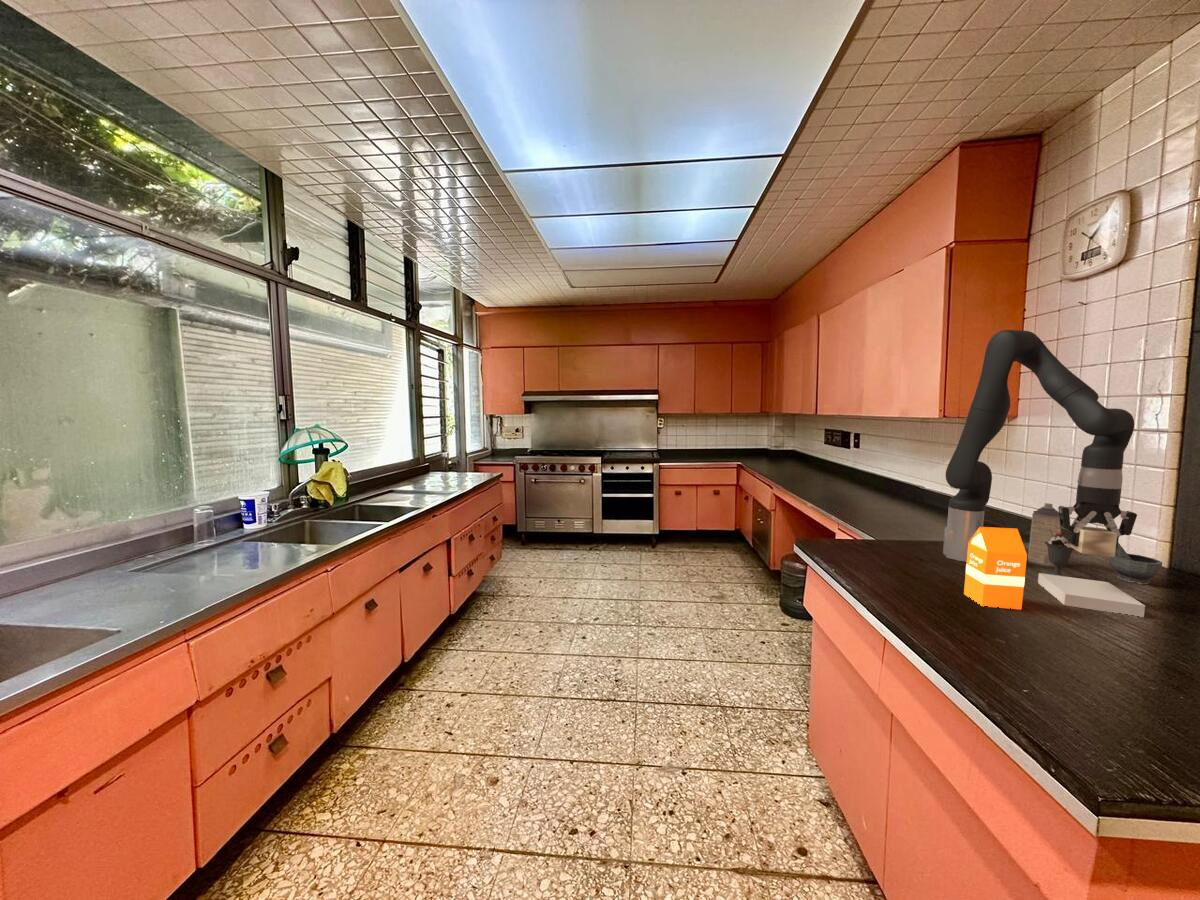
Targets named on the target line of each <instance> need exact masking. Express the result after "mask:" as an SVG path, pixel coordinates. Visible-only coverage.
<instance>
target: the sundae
mask: <svg viewBox="0 0 1200 900" xmlns="http://www.w3.org/2000/svg"><path fill="white" fill-rule="evenodd" d="M1060 529H1061V531H1060V532H1061V534H1060V532H1059V533H1056V535H1055V536H1053V537H1052V538H1051V540H1049V541H1046V542H1044V543H1045V544H1046V545H1047V547H1048V557H1049V560H1050V562H1051V563H1053V564H1054V565H1055V567H1054V569H1053V572H1046V573H1045V574H1050V575H1058V576H1065V575H1063V574H1062V573H1061V568H1062V567H1063V566H1066V565H1068V563H1069V561H1070V558H1071V555H1072V552H1073V550H1074V549H1073V548H1072V547H1070V545H1071V543H1070V542H1069V539H1067V537H1066V536H1065V535H1064V533H1063V530H1062V528H1061V527H1060ZM1065 577H1067V576H1065Z"/></svg>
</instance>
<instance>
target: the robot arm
mask: <svg viewBox="0 0 1200 900" xmlns="http://www.w3.org/2000/svg"><path fill="white" fill-rule="evenodd" d="M1014 362H1017V363H1019V364H1021V365H1022V366H1025V367H1026V368H1027V369H1029V370H1030V371H1031V372H1032V373H1033V374H1034V375H1035V376H1036V378H1037V379H1038V381H1039V384H1040V386H1041V387H1042V389H1043V390H1044V391H1045V392H1044V393H1046V394H1047V395H1048V396H1049V397H1050V398H1051V399H1052V400H1054V402H1056V403H1057V404H1058V405H1059V406H1060V407H1062V408H1063V409H1065V411H1066V413H1067V414H1068V416H1069V418H1071V421H1073V423H1074V424H1075V425H1076V426H1077V428H1079V429H1080V430H1081V431H1083V432H1084V433H1086V434H1088V435H1091V436H1094V437H1093V440H1092V443H1090V444H1089V445H1086V446H1084V448H1083V450H1082V455H1081V461H1080V462H1081V463H1080V464H1081V465H1080V466H1081V467H1080V469H1079V471H1078V472H1079V473H1078V478H1077V480H1076V481H1077V488H1076V495H1075V496H1076V498H1075V504H1073V506H1064V505H1060V506H1058V507H1057V508H1058V512H1059V520H1060V526H1061V527H1062V528H1063V529H1065V530H1067V531H1069V533H1068V541H1069V543H1070V544H1072V545H1073V546H1077V547H1078V545H1079V536H1080V533H1078V532H1080V529H1082V528H1083V527H1087V525H1088V524H1100V525H1103V526H1104V527H1105V529H1107V530H1109V531H1111V532H1114V533H1116V534H1117V541H1116V548H1117V547H1118V543H1119V540H1120V539H1119V538H1120V537H1122V536H1130V535H1131V534H1132V531H1133V529H1134V526H1135V524H1136V520H1137V517H1138V514H1137V513H1136V512H1133V511H1129V510H1121V508H1120V504H1121V497H1122V495H1121V494H1122V489H1123V487H1122V486H1123V477H1124V476H1123V465H1124V459H1125V458H1124V455H1125V451H1126V449H1127V448H1128V445H1129V443H1130V440H1131V438H1132V435H1133V432H1134V430H1135V418H1134V417H1133V415H1132V413H1131V412H1129V411H1127V410H1126V409H1123V408H1107V407H1105V406H1104V405H1102V404H1101V403H1100V401H1098V400H1099V394H1098V393H1097V392H1096V390H1095V389H1093V388H1092V387H1091V386H1089V385H1088V384H1087V383H1085V382H1084V381H1083V380H1082V379H1081V378H1079V377H1078V376H1077V375H1075V374H1074V373H1073V372H1072V371H1071V370H1069V369H1068V368H1067V367H1066V366H1065V365H1064V364H1063V363H1062V362H1061V361H1060V360H1059V359H1058V358H1057V357H1056V356H1055V355H1054V354H1053V353H1052V352H1051V351H1050V350H1049V348H1048V347H1047V346H1046V344H1045V343H1044V342H1043V340H1042V339H1041V338H1040V337H1039V336H1038V335H1037V334H1036V333H1034V332H1032V331H1028V330H1018V329H1004V330H1000V331H998V332H996V333H995V334H993V335H992V336H991V338H990V340H988V342H987V344H986V348H985V353H984V357H983V363H982V367H981V373H980V375H979V376H980V377H979V379H978V383H977V387H976V389H975V394H974V397H973V400H972V401H971V404H970V407H969V410H968V413H967V417H966V420H965V423H964V426H963V430H962V431H961V435H960V437H959V441H958V443H957V445H956V448H955V450H954V452H953V454H952V456H951V458H950V460H949V463H948V464H947V466H946V469H945V480H946V482H947V484H948V485H949V486H950V487H951V488H953V489H956V490H958V492H957V493H956V494H955V495H954V496H952V497H950V498H949V500H948V513H947V521H946V522H947V523H946V524H947V525H946V526H945V527H944V536H943V548H942V554H943V555H944V556H945V558H946V559H950V560H955V561H959V562H964V563H967V553H968V543H969V541H970V540H971V539H972V537H973V536H974V534H975V533H976V531H977V530H978V529H979V527H984V521H985V520H984V519H985V518H984V517H985V510H986V509H985V508H986V505H987V504H988V503H989V500H990V495H991V488H992V481H993V474H992V471H991V470H992V469H991V468H990V466H989V465H988V464H986V463H985V462H983V461H979V460H980V457H981V454H982V453H983V450H984V449H985V448H986V447H987V446H988V444H989V443H990V442H991V441H992V440H993V439H994V438H995V437H996V436H997V435H998V434H999V433H1000V432H1001V430H1002V429H1003V427H1004V425H1005V422H1006V420H1007V417H1008V414H1009V412H1010V409H1011V396H1010V391H1009V385H1008V381H1009V380H1008V379H1009V374H1010V373H1011V369H1012V366H1013V364H1014ZM1073 512H1075V514H1076V515H1077V516H1076V517H1075V518H1074V519H1073V522H1072V524H1071V519H1070V518H1071V517H1070V516H1071V515H1072V514H1073ZM1119 516H1120V518H1121V522H1120V525H1119V528H1118V525H1117V523H1116V522H1115V519H1116V518H1117V517H1119Z"/></svg>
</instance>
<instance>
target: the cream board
mask: <svg viewBox="0 0 1200 900" xmlns="http://www.w3.org/2000/svg"><path fill="white" fill-rule="evenodd" d="M1037 577H1038V578H1037V583H1038V584H1039V585H1040V587H1042V588H1043V587H1044V588H1043V589H1045V591H1047V592H1048V593H1049V594H1051V596H1053V597H1055V599H1056V598H1057V601H1059V602H1060V603H1061V604H1062V605H1064V606H1068V607H1074V608H1081V609H1088V610H1094V611H1100V612H1105V611H1106V613H1112V612H1113V613H1112V614H1118V613H1121V614H1120V615H1125V614H1128V615H1127V616H1131V615H1134V616H1133V617H1137V616H1139V617H1140V618H1145V609H1146V605H1145V604H1143V603H1141V602H1140V601H1138V600H1137V599H1135V598H1134V597H1132V596H1131V595H1129V594H1128V593H1125V592H1124V591H1123V590H1121V589H1120V588H1118V587H1117V586H1115V585H1113V584H1112V583H1110V582H1108V581H1102V580H1094V579H1087V578H1081V577H1080V578H1078V577H1071V576H1066V577H1065V575H1063V576H1058V575H1050V574H1046V573H1042V572H1041V573H1040V572H1039V573H1038V576H1037ZM1139 617H1138V618H1139Z"/></svg>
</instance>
